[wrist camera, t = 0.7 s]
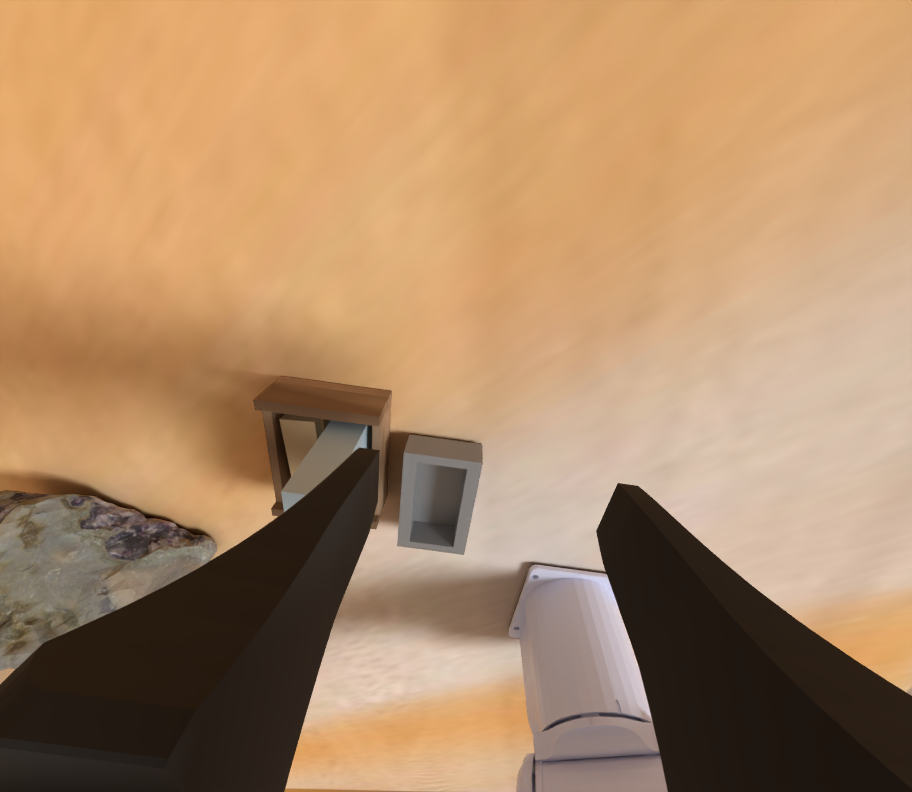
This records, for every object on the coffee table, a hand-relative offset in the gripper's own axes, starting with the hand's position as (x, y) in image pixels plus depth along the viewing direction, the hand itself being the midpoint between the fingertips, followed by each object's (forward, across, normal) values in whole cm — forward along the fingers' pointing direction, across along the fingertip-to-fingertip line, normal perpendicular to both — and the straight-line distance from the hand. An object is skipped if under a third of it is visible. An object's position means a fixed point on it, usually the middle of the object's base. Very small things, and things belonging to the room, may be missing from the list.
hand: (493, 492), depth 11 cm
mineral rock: (+11, +25, +17) cm, 32 cm away
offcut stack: (+10, +10, +7) cm, 15 cm away
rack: (+10, +9, +7) cm, 15 cm away
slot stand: (+10, +2, +9) cm, 14 cm away
